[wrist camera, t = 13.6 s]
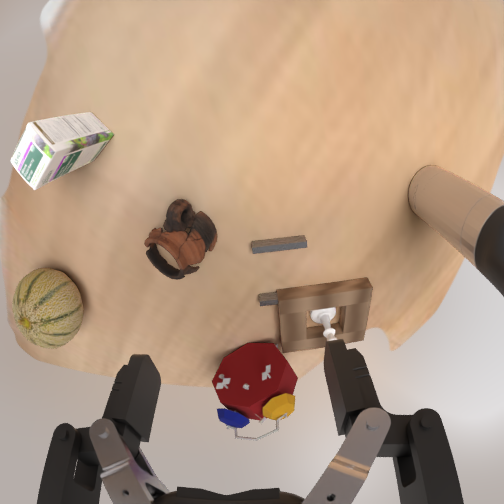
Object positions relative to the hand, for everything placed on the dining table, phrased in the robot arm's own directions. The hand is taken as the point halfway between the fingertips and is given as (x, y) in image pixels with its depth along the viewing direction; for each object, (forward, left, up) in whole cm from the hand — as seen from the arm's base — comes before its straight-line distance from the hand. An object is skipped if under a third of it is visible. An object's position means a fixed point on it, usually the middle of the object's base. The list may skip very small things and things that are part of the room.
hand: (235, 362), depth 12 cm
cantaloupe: (+38, +14, -30) cm, 51 cm away
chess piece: (-11, +25, -30) cm, 41 cm away
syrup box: (+21, -11, -30) cm, 38 cm away
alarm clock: (+3, +33, -30) cm, 45 cm away
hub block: (-11, +26, -30) cm, 41 cm away
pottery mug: (+10, +6, -30) cm, 32 cm away
